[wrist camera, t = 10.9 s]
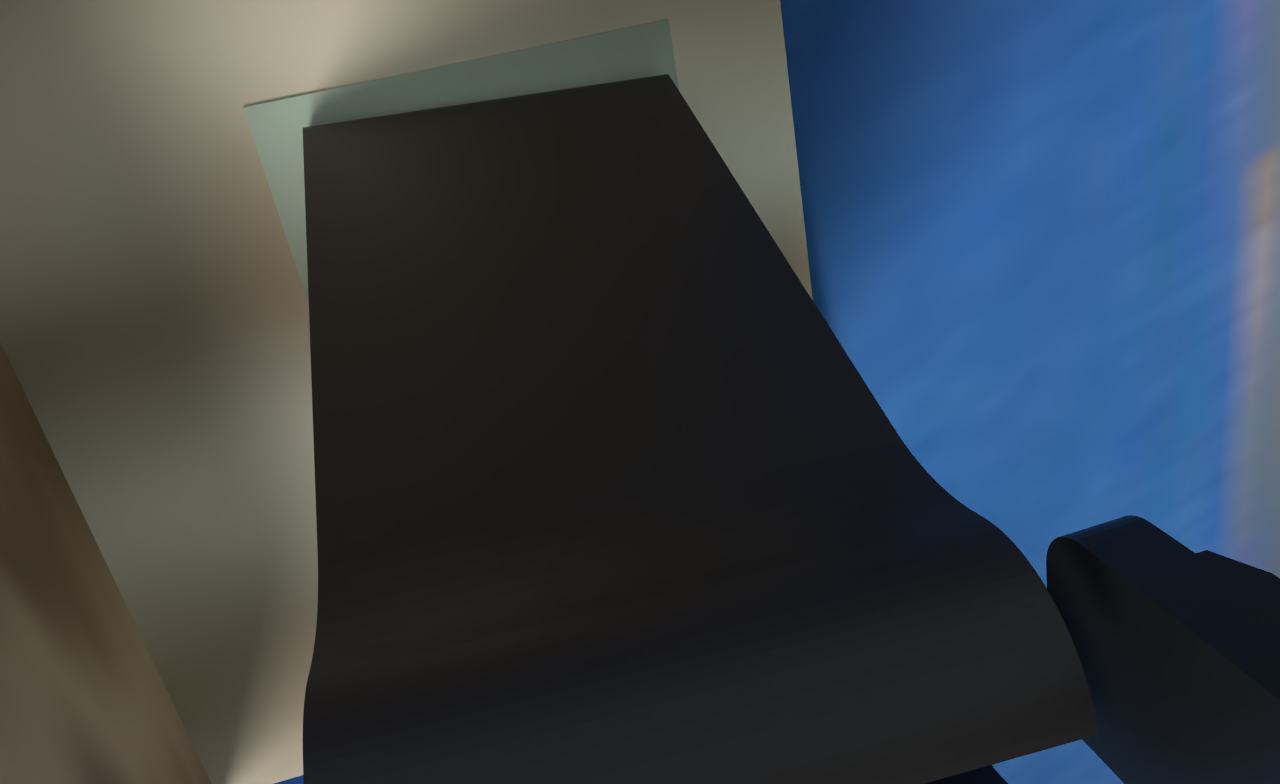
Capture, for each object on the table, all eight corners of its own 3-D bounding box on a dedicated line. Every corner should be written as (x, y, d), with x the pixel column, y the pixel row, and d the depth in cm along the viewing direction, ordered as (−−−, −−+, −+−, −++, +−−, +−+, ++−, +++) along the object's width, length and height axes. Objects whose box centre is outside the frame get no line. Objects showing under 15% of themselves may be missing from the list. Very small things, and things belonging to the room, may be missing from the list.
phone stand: (303, 121, 16) (140, 420, 5) (665, 71, 17) (1155, 234, 6) (414, 588, 20) (453, 1335, 9) (706, 524, 21) (1061, 1122, 10)
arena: (832, 590, 23) (993, 809, 17) (167, 789, 21) (78, 1123, 15) (724, -343, 16) (943, -548, 10) (-323, -180, 14) (-903, -310, 7)
